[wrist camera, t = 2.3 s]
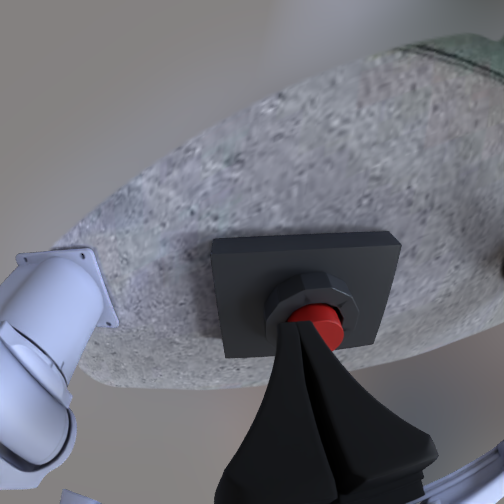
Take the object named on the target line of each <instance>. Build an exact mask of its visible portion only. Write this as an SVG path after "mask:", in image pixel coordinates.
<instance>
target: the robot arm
mask: <svg viewBox="0 0 504 504" xmlns="http://www.w3.org/2000/svg"><path fill="white" fill-rule="evenodd" d="M82 254H84V256H85V257H84V256H83V255H82ZM16 261H17V264H18V267H17V268H16V269H15V270H14V271H13V272H12V273H11V274H10V275H9V276H8V277H7V278H6V279H5V280H4V282H3V283H2V284H1V285H0V490H17V489H32V488H36V487H38V485H39V483H40V482H41V480H42V479H43V478H44V476H45V475H46V474H47V473H49V472H50V471H52V470H53V469H55V468H57V467H59V466H60V465H61V464H62V463H63V462H64V461H65V460H66V459H67V458H68V456H69V455H70V453H71V451H72V449H73V447H74V444H75V440H76V433H77V424H76V418H75V416H74V414H73V412H72V410H71V409H70V408H69V405H70V402H71V400H72V397H73V396H72V394H71V393H70V392H69V391H68V390H67V387H68V384H69V382H70V379H71V377H72V375H73V373H74V370H75V368H76V366H77V364H78V362H79V359H80V357H81V355H82V353H83V351H84V349H85V346H86V344H87V342H88V340H89V338H90V336H91V334H92V332H93V330H94V328H95V327H109V328H117V327H118V325H119V321H118V318H117V316H116V313H115V311H114V308H113V306H112V303H111V301H110V298H109V296H108V293H107V290H106V287H105V285H104V282H103V279H102V276H101V273H100V270H99V267H98V264H97V261H96V258H95V255H94V252H93V251H92V250H91V249H89V248H82V249H69V250H56V251H44V252H31V253H19V254H17V255H16ZM438 456H439V455H438V452H437V450H436V447H435V444H434V442H433V440H432V439H431V437H430V435H429V434H426V433H425V432H423V431H421V430H419V429H417V428H416V427H414V426H412V425H411V424H409V423H407V422H406V421H404V420H403V419H401V418H400V417H398V416H397V415H396V414H394V413H393V412H392V411H390V410H389V409H388V408H386V407H385V406H384V405H382V404H381V403H380V402H379V401H377V400H376V399H375V398H374V397H373V396H372V395H371V394H369V393H368V392H367V391H366V390H365V389H364V388H363V387H362V386H361V385H360V384H359V383H358V382H357V381H356V380H355V379H354V378H353V377H352V375H351V374H350V373H349V372H348V371H347V370H346V369H345V367H344V366H343V365H342V364H341V363H340V361H339V360H338V359H337V358H336V356H335V355H334V354H333V352H332V351H331V350H330V348H329V347H328V346H327V344H326V343H325V341H324V340H323V338H322V337H321V335H320V334H319V332H318V331H317V329H316V328H315V326H314V324H313V322H311V321H310V320H308V321H297V322H285V323H279V324H278V325H277V336H276V355H275V360H274V365H273V369H272V373H271V376H270V380H269V383H268V386H267V389H266V392H265V395H264V398H263V400H262V403H261V406H260V408H259V410H258V412H257V415H256V417H255V419H254V421H253V423H252V425H251V427H250V429H249V431H248V433H247V435H246V437H245V438H244V440H243V442H242V444H241V445H240V447H239V449H238V451H237V452H236V454H235V455H234V457H233V458H232V460H231V461H230V463H229V464H228V466H227V467H226V469H225V470H224V472H223V475H222V478H221V479H220V482H219V484H218V487H217V489H216V492H215V497H214V504H416V503H418V502H421V501H422V502H421V503H420V504H495V503H496V502H498V501H499V500H500V499H501V498H502V497H503V496H504V440H503V441H501V442H500V443H499V444H498V445H497V446H496V447H495V448H493V449H492V450H490V451H489V452H487V453H486V454H484V455H482V456H481V457H479V458H477V459H476V460H474V461H472V462H470V463H469V464H467V465H465V466H463V467H462V468H460V469H458V470H456V471H454V472H452V473H450V474H448V475H446V476H444V477H442V478H440V479H438V480H436V481H434V482H432V483H430V484H427V485H426V486H423V485H422V482H421V479H423V478H424V475H423V472H422V470H423V469H425V468H426V467H427V466H429V465H430V464H432V463H433V462H434V461H435V460H436V459H437V458H438ZM60 504H101V503H100V502H98V501H96V500H93V499H91V498H88V497H85V496H82V495H80V494H77V493H74V492H72V491H69V490H67V489H63V491H62V495H61V500H60Z"/></svg>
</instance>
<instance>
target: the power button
mask: <svg viewBox="0 0 504 504" xmlns="http://www.w3.org/2000/svg"><path fill="white" fill-rule="evenodd" d="M308 320H310V321H311V322H313V324H314V326H315V328H316V329H317V331H318V332H319V334H320V335H321V337H322V338H323V340H324V341H325V343H326V344H327V346H328V347H329V348H330V350H331V351H334V350H335V349H336V348H337V347H338V346H339V345H340V344H341V342H342V340H343V337H344V331H343V328H342V326H341V323H340V320H339V318H338V315H337V313H336V311H335V310H334V309H333V308H332V307H331V306H329V305H327V304H323V303H315V304H308V305H305V306H303V307H301V308H299V309H297V310H296V311H295V312H293V313H292V315H291V316H290V317H289V319H288V322H297V321H308Z"/></svg>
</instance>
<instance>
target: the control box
mask: <svg viewBox="0 0 504 504" xmlns="http://www.w3.org/2000/svg"><path fill="white" fill-rule="evenodd" d="M401 246H402V245H401V243H400V242H399V241H398V240H397V239H396V238H395V237H394V236H393V235H392V234H391V233H390V232H389V231H382V232H352V233H325V234H301V235H279V236H258V237H238V238H219V239H213V243H212V248H211V254H210V256H211V264H212V272H213V279H214V286H215V294H216V301H217V308H218V314H219V321H220V327H221V334H222V340H223V346H224V353H225V358H250V357H267V356H275V355H276V336H277V325H278V324H279V323H285V322H288V319H289V317H290V316H291V315H292V313H293V312H295V311H296V310H297V309H299V308H301V307H303V306H305V305H308V304H315V303H323V304H327V305H329V306H331V307H332V308H333V309H334V310H335V311H336V313H337V315H338V318H339V320H340V323H341V326H342V328H343V331H344V337H343V340H342V342H341V344H340V345H339V346H338V347H337V348H336V349H335V350H338V349H346V348H352V347H359V346H365V345H371V344H373V343H374V341H375V338H376V335H377V332H378V329H379V326H380V323H381V320H382V317H383V314H384V310H385V307H386V304H387V300H388V297H389V293H390V290H391V286H392V283H393V279H394V275H395V271H396V267H397V263H398V259H399V255H400V250H401Z"/></svg>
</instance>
